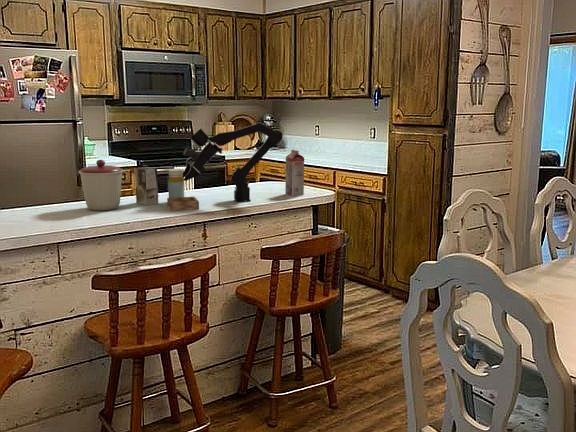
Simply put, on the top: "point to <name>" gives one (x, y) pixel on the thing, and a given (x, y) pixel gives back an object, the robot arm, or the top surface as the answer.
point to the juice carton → (294, 174)
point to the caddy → (182, 203)
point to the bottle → (175, 183)
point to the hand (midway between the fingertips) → (182, 178)
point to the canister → (101, 186)
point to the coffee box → (146, 185)
